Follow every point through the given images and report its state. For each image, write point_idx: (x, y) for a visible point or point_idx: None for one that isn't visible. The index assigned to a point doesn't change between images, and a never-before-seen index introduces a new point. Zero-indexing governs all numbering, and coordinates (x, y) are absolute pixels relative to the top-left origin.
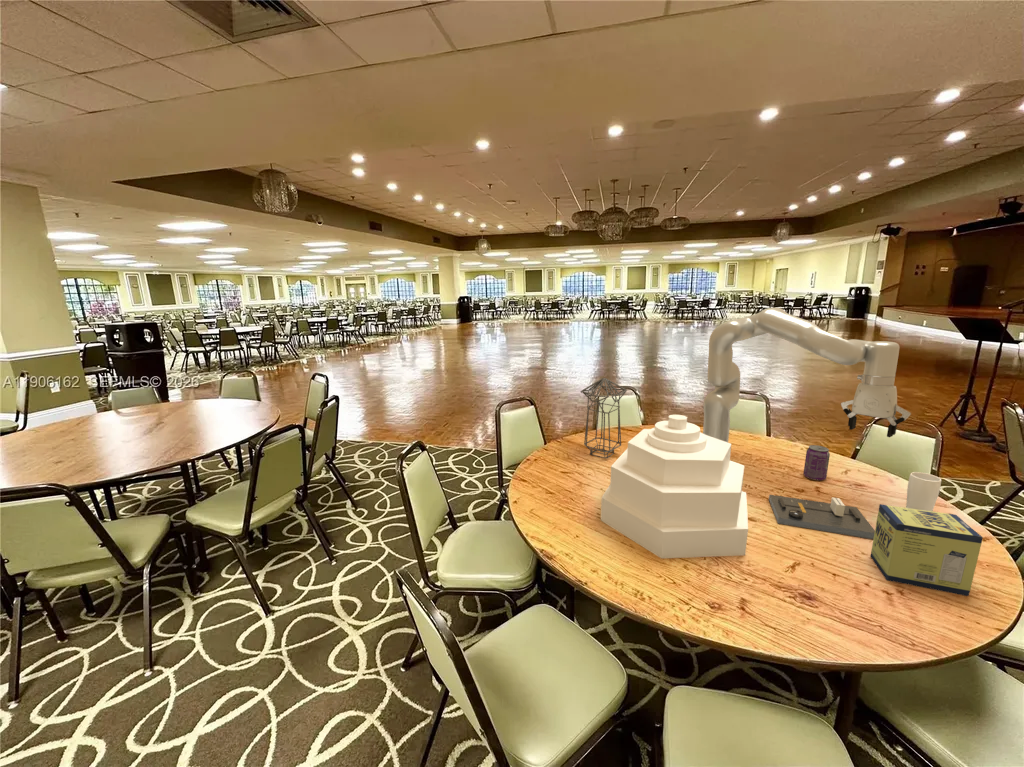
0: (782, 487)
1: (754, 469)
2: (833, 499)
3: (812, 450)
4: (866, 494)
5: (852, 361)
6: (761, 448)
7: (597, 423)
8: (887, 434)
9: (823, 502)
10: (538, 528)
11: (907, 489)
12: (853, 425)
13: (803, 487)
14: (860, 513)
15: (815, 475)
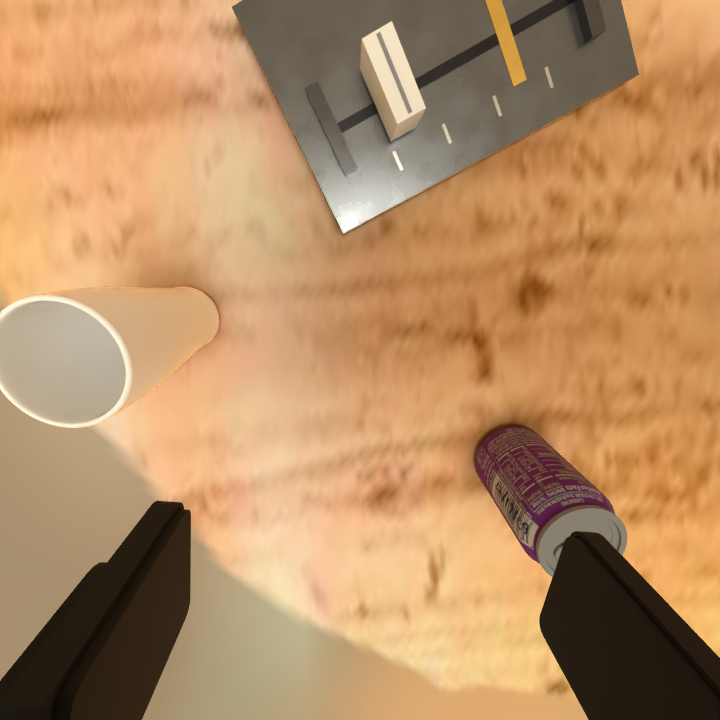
0: (588, 271)
1: (702, 373)
2: (415, 82)
3: (601, 506)
4: (349, 433)
5: None
6: (699, 592)
7: None
8: (172, 528)
9: (445, 176)
10: None
11: (176, 330)
12: (592, 611)
13: (524, 333)
14: (320, 177)
15: (512, 435)
